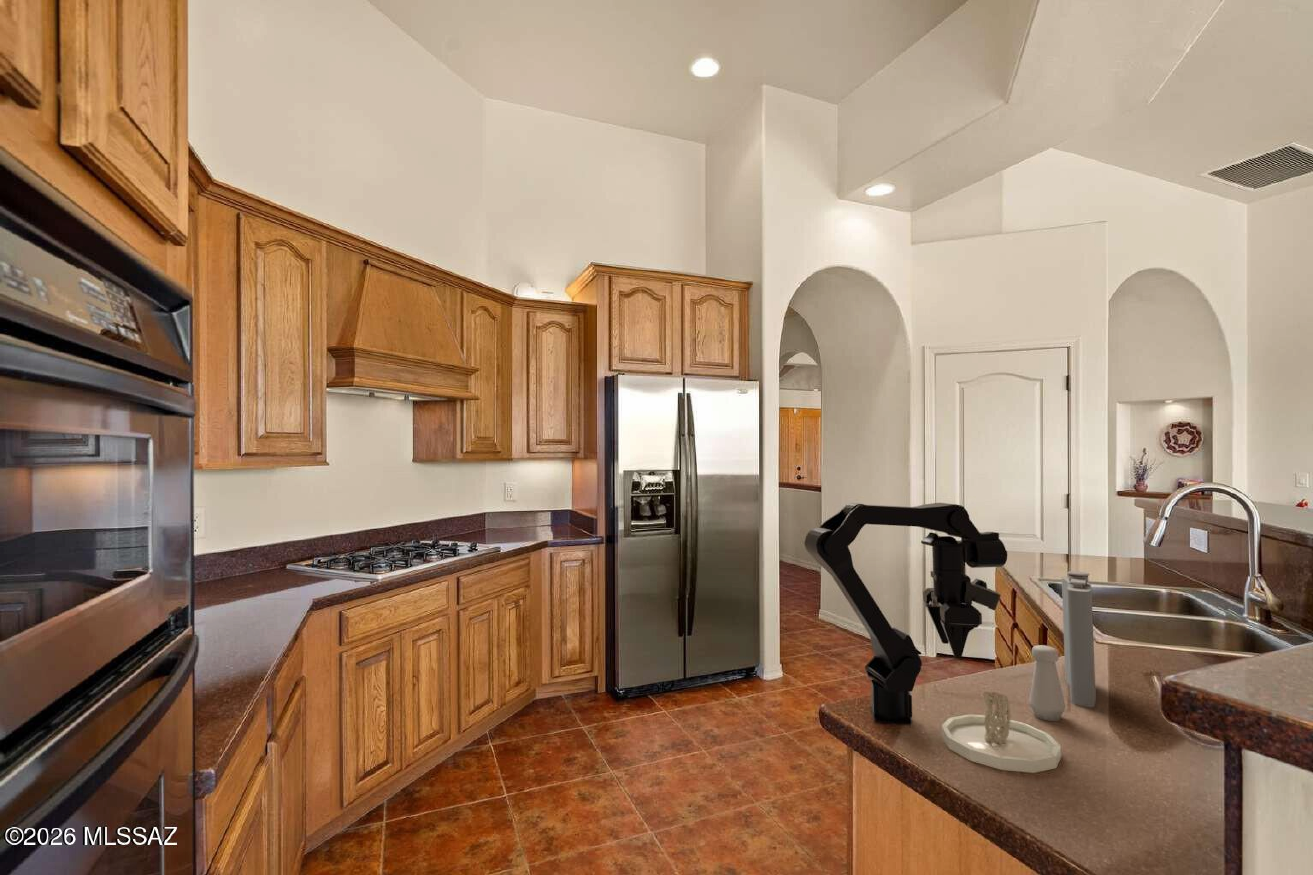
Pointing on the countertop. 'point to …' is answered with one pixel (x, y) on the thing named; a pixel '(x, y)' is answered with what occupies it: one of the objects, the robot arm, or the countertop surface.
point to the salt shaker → (1046, 685)
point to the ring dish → (1002, 745)
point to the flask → (1079, 638)
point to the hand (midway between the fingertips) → (951, 650)
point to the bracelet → (999, 706)
